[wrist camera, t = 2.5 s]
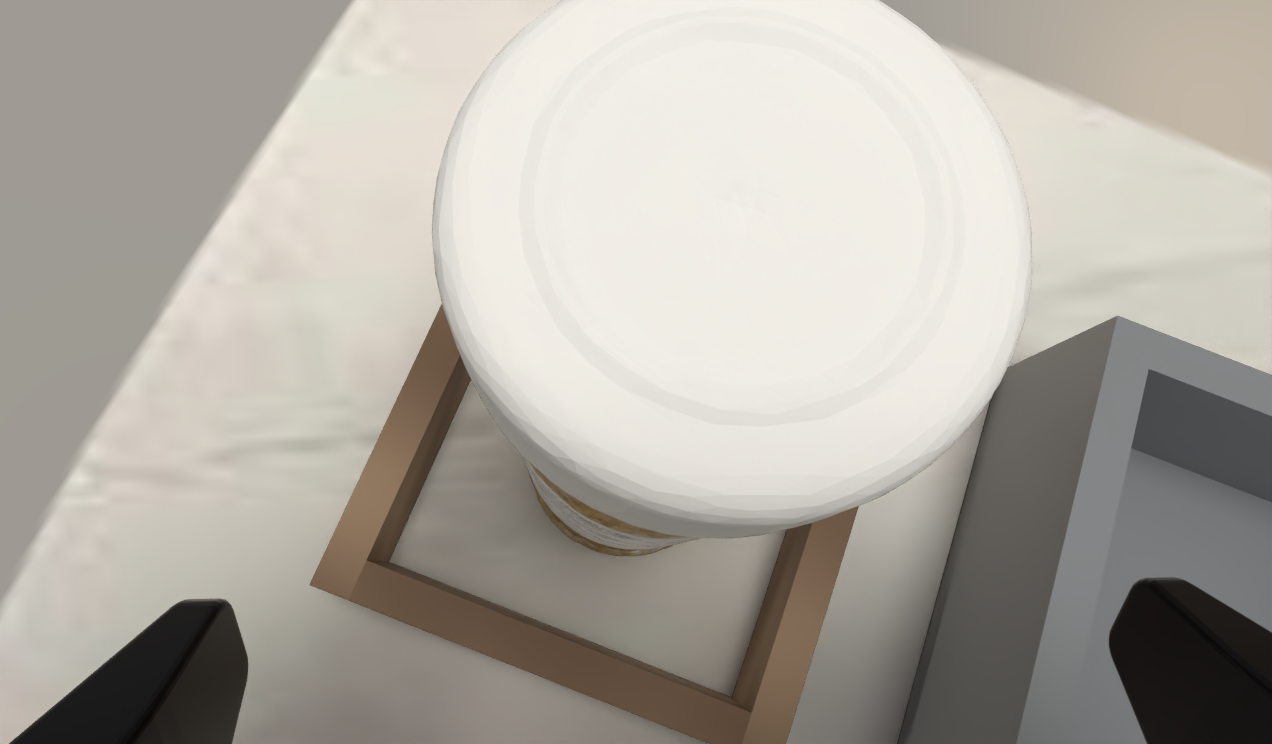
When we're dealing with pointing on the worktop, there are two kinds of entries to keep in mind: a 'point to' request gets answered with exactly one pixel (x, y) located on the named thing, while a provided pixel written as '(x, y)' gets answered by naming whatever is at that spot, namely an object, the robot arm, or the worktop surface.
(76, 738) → the robot arm
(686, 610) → the worktop surface
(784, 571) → the walnut holder
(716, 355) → the sprinkles bottle
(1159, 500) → the grey bin
